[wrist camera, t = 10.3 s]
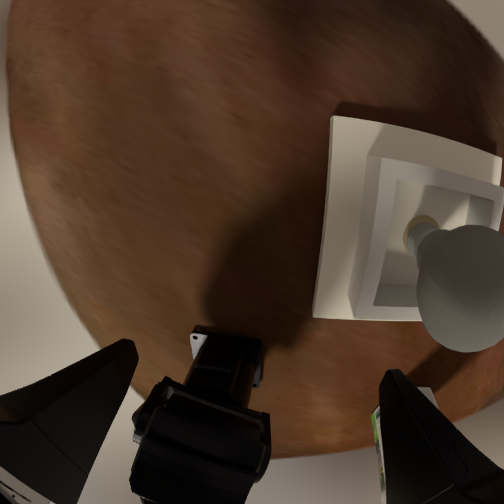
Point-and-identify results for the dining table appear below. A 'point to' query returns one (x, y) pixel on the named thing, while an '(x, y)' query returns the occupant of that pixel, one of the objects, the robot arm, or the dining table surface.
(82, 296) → the dining table surface
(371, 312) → the socket base
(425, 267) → the light bulb
